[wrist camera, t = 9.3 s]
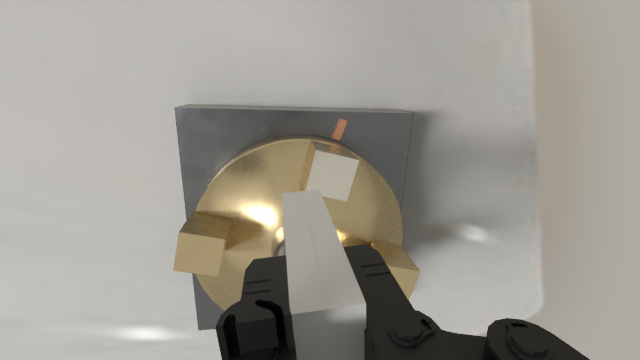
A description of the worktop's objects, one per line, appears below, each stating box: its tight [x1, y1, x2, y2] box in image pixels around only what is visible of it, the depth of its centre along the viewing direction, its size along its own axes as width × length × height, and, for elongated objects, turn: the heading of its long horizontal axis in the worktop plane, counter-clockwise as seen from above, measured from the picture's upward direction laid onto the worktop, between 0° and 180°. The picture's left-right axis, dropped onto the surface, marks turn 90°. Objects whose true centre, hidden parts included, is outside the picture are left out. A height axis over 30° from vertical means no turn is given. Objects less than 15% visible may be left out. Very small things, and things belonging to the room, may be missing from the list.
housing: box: [175, 104, 413, 330], centre depth 30 cm, size 20×22×4 cm
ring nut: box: [173, 135, 420, 311], centre depth 25 cm, size 18×18×8 cm
